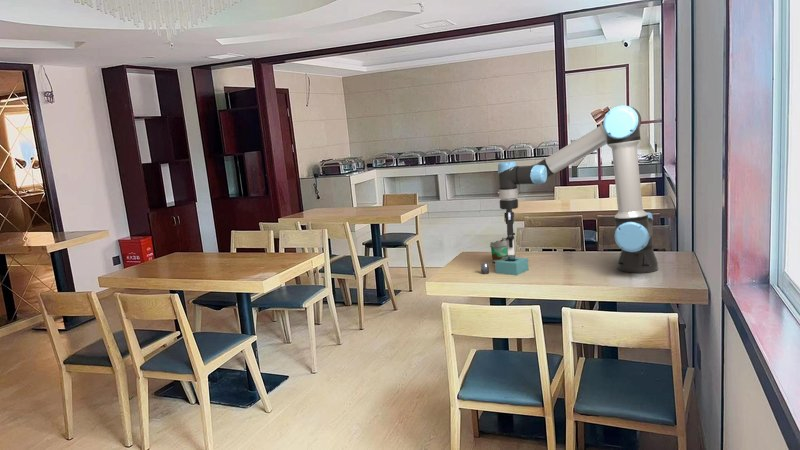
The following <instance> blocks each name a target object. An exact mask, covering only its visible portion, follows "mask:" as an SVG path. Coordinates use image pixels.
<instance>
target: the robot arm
mask: <svg viewBox="0 0 800 450" xmlns="http://www.w3.org/2000/svg"><path fill="white" fill-rule="evenodd" d="M603 117H604V118H603V121H601V122H600V125H599V126H598V127H596V128H594V129H592V130H591V131H589V132H588V133H586V134H585V135H582V136H581V137H579V138H576V139H575V140H574V141H572V142H571V143H569V144H567V145H566V146H564V147H562V148H561V149H558V150H557V151H556V152H554V153H552V154H550V155H549V156H547V157H546V158H544V159H542V160H540V161H538V162H537V163H535V164H531V165H521V166H520V165H517V162H516V161H501V162H499V163H498V164H497V180H498V181H497V182H498V191H497V194H498V195H499V197H498V198H499V199H500V200H499V209H500V210H505V212H504V218H505V219H504V220H505V225H506V234H507V236H506V237H505V238H506V240H507V244H508V255H515V256H516V250H515V251H514V240H515V235H516V233H515V232H514V224H515V220H514V219H515V212H513V210H515V209H518V208H519V200H518V198H519V195H518V194H519V193H518V192H519V191H518V185H541V184H542V185H543V184H545V183H546V182H547V179H548V178H550V177H552V176H553V175H555V174H556V173H558V172H560V171H562V170H564V169H565V168H567V167H568V166H570V165H572V164H575V162H577V161H579V160H581V159H583V158H584V157H587V156H588V155H590V154H592V153H593V152H595V151H597V150H598V149H601V148H602V147H604V146H605V145H607V146H608V147H609V148H610V149H611V153H612V161H613V163H612V164H613V171H614V172H613V173H614V181H615V182H614V184H615V192H616V203H617V213H616V214H615V215H614V225H615V226H614V227H615V230H614V241H615V243H616V245H617V246H618V247H619V248H620V249H621V251H620V252H619V253H620V254H619V257H618V260H617V269H618V270H619V271H620V272H624V273H625V272H626V273H633V274H643V273H645V274H646V273H652V272H656V271H658V270H659V263H658V260H657V257H656V254H655V252H654V239H653V238H654V230H653V229H654V226H653V225H654V223H653V221H654V217H653V214H652V213H651V212H648V211H645V210H644V209H643V208H644V207H643V197H642V187H641V179H640V178H641V177H640V166H639V155H638V147H637V146H638V145H639V143H640V142H641V141H642V140H641V130H640V128H641V125H642V117H641V114H640V112H639V111H638V110H637V109H636V108H634V107H633V106H629V105H625V104H624V105H617V106H615V107H612V108H611V109H610V110H609V111H608V112H607V113H606V114H605V116H603ZM513 236H514V237H513Z"/></svg>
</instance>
